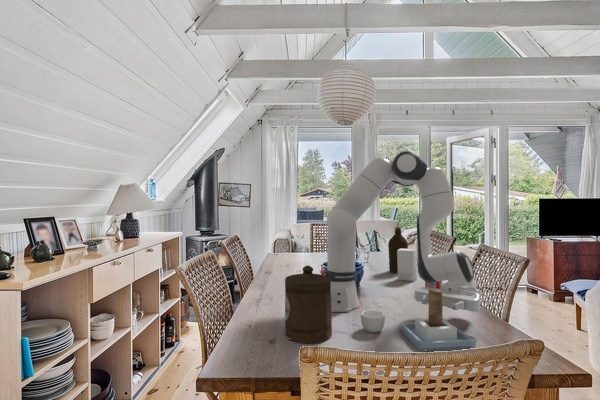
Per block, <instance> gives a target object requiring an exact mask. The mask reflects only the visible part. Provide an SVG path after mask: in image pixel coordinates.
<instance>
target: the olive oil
mask: <svg viewBox="0 0 600 400" xmlns="http://www.w3.org/2000/svg"><path fill="white" fill-rule="evenodd" d="M408 243H409V242H408V241H407V239H406V238H405V237H404V236H403V235H402V227H399V226H396V227H394V234H393V236H392V237H391V238H390V239H389V240H388V243H387V244H388V246H387V247H388V249H387V250H388V268H389V269H388V270H389V273H391V274H396V273H397V275H398V264H397V250H399V249H401V248H402V249H409V244H408Z"/></svg>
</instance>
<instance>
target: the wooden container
mask: <svg viewBox="0 0 600 400" xmlns="http://www.w3.org/2000/svg"><path fill="white" fill-rule="evenodd" d="M313 272H314V268H313V267H312V266H310V265H305V266H304V267H302V273H296V274H291V275H288V276H286V277H285V278H284V281H285V282H284V286H285V287H284V289H285V290H284V293H285V294H284V296H285V297H284V299H285V300H284V315H285V316H284V321H285V322H284V323H285V325H284V327H285V329H284V330H285V337H286V336H287V337H288V338H290V339H292V340H294V341H293V342H295V341H298V342H297V343H299V342H305V343H304V344H317V343H316V342H318V343H321V342H325V341H328V340H329V339H330V338H331V337H332V335H333V334H332V333H333V332H332V331H333V330H332V329H333V326H332V325H333V324H332V322H333V321H332V319H333V318H332V317H333V316H332V315H333V314H332V313H333V312H332V311H331V280H330V277H328V276H325V275H322V274H321V273H320V274H319V273H313ZM287 337H286V338H287ZM288 338H287V339H288ZM290 339H289V340H290ZM292 340H291V341H292ZM324 340H325V341H324Z"/></svg>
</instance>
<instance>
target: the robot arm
mask: <svg viewBox="0 0 600 400" xmlns="http://www.w3.org/2000/svg"><path fill="white" fill-rule="evenodd" d="M390 182H391V183H394V184H396V185H397V184H398V185H400V186H404V187H411V186H414V185H415V186H416V188H418V190H419V193H420V198H421V211H420V213H419V214H417V217H416V240H417V241H416V243H417V274H418V276H419V278H420V279H422V280H423V281H424V282H425V281H426V282H427V283H430V284H431V283H435V282H439V281H443V282H444V281H446V282H445V283H443V284H442V286H441V287H440V289H437V290H441V291H442V307H446V308H448V309H452V310H453V311H458V310H464V311H469V312H474V313H475V312H480V310H481V302H482V301H481V299H482V298H481V290H480V289H478V288H477V282H476V280H475V279H474V278H475V269H474V265H473V263H472V260H471V258H470V257H469V256H468V255H467V254H465V253H464V252H463V251H460V250H455V251H449V252H444V253H440V254H432V241H431V233H432V230H433V229H434V227H436V226H437V225H438V224H440V223H442V221H444V220H445V219H447V218H448V217H449V216H450V215H451V213H453V210H454V207H455V201H454V195H453V192H452V188H451V185H450V182H449V179H448V177H447V174H446V173H445V171H444V170H443V168H440V167H437V166H433V167H432V166H430V167H428V165H427V163H426V162H425V161H424V160H423V159H422V158H421V157H420V156H418V154H416V153H415V152H413V151H408V150H406V151H402V152H400V153H398V154H397V155H395V157H394V158H393V160H389V159H387V158H385V157H383V156H382V157H381V156H379V157H375V158H374V159H372V160H371V161H370V162H369V163H368V164H367V165H366V166H365V167H364V168H363V170H362V171H361V172H360V173H359V174H358V176H357V178H355V180H354V181H353V182H352V183H351V185H350V186H349V187H348V189H347V190H346V191H345V193H344V194H343V195H342V196H341V197H340V199H339V200H338V201H336V204H335V205H334V206H333V207H332V208H331V210H330V211H329V212H328V214H327V217H326V224H327V240H326V241H327V244H326V245H327V248H326V249H327V251H326V253H327V258H326V260H327V264H326V265H327V266H326V267H327V269H325V270H324V269H323V268H321V269H320V270H319V273H320V274H321V275H325V276H328V277H330V280H331V311H332V313H334V312H336V313H337V312H338V313H348V312H351V310H354V309H358V307H360V302H359V298H358V294H357V293H358V292H357V291H358V290H357V285H356V284H357V270H356V240H357V221H358V220H360V218H361V217H362V216H363V215H364V213H365V212H366V211H367V210H368V209H369V208H370V207H371V206H372V205H373V203H374V202H375V201H376V199H377V198H378V197H379V195H380V194H381V193H382V191H383V190H384V189H385V188H386V187H387V185H388V184H389V183H390ZM430 289H435V288H428V287H425V286H424V287H421V288H417V289H415V290H414V300H415V301H416V302H419V303H421V304H422V305H426V306H427V305H429V290H430Z"/></svg>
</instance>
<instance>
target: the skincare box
mask: <svg viewBox="0 0 600 400" xmlns="http://www.w3.org/2000/svg"><path fill="white" fill-rule="evenodd" d="M397 264H398V274H397V280H398V281H405V282H415V281H417V278H418V277H417V276H418V275H417V274H418V268H417V249H415V248H408V249H402V248H401V249H399V250H397Z"/></svg>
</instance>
